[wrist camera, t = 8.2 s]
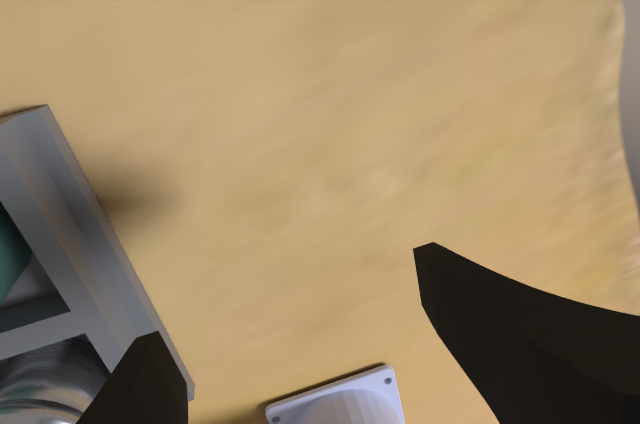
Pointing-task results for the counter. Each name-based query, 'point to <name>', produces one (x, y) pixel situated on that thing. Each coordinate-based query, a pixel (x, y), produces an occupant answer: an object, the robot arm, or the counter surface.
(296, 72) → the counter surface
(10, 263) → the teal cylinder
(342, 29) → the counter surface
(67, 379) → the housing
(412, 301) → the counter surface
